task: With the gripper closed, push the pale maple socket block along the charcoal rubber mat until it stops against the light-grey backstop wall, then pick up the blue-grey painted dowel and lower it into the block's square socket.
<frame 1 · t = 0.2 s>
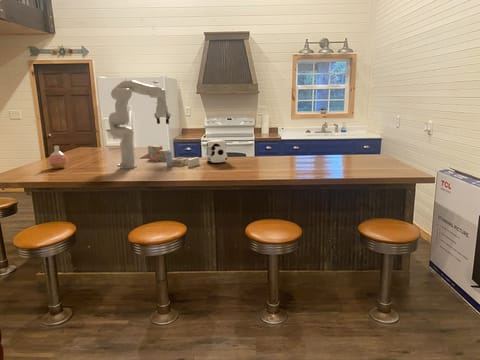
hand: (163, 123, 307), 31 cm above the countertop, fingers open, 9 cm apart
wall: (193, 166, 275), resting on mat
stack of blocks: (159, 160, 308), on the countertop
vase: (59, 168, 276), on the countertop
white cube: (216, 163, 290), on the countertop
mat: (183, 165, 280), on the countertop
block: (179, 161, 281), point 3 cm above the countertop, slide at 0.0 cm
dowel: (169, 167, 274), on the countertop
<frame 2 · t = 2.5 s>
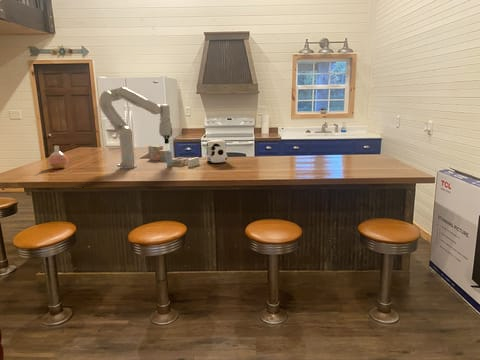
hand: (166, 143, 283), 17 cm above the countertop, fingers closed
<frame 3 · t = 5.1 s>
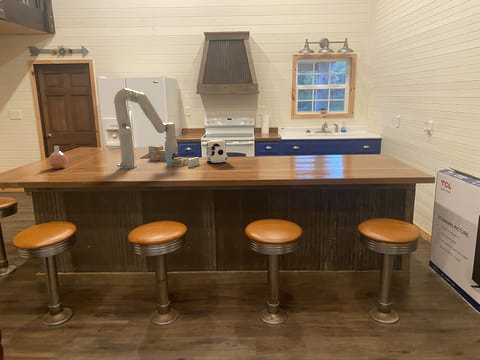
hand: (172, 161, 284), 3 cm above the countertop, fingers closed
block: (179, 161, 281), point 3 cm above the countertop, slide at 0.1 cm, touching gripper
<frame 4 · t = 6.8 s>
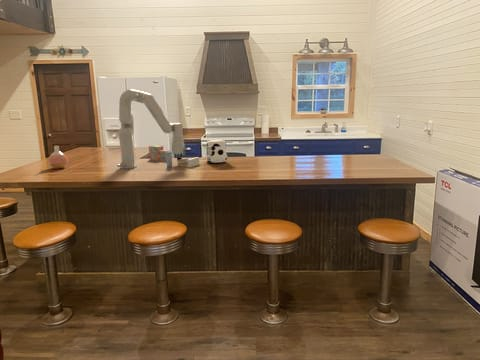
hand: (179, 162, 281), 3 cm above the countertop, fingers closed
block: (186, 162, 278), point 3 cm above the countertop, slide at 7.2 cm
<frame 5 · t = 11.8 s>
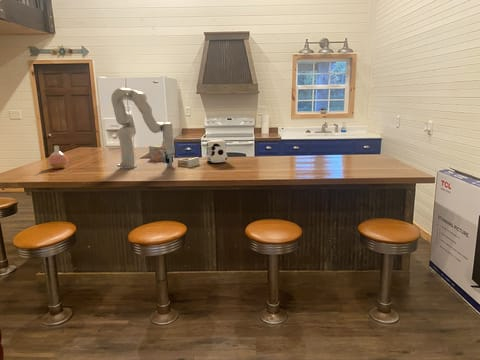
hand: (169, 162, 273), 4 cm above the countertop, fingers closed on dowel, 4 cm apart
dowel: (169, 167, 274), on the countertop, touching gripper
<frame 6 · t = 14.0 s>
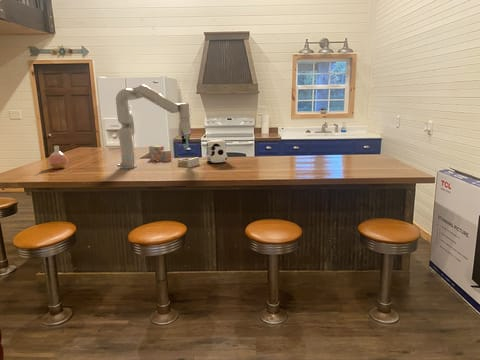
hand: (185, 143, 274), 18 cm above the countertop, fingers closed on dowel, 4 cm apart
dowel: (186, 147, 275), point 14 cm above the countertop, touching gripper
when the fingers open (6 cm above the countertop, at t = 16.4 s): dowel stays where it is, resting on block.
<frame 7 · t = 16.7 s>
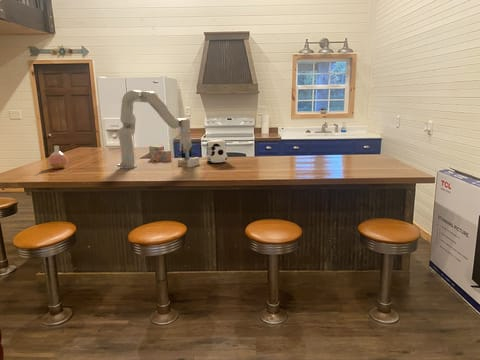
hand: (186, 157, 277), 7 cm above the countertop, fingers open, 7 cm apart
block: (186, 162, 278), point 3 cm above the countertop, slide at 7.2 cm, touching dowel
dowel: (186, 163, 278), point 2 cm above the countertop, touching block
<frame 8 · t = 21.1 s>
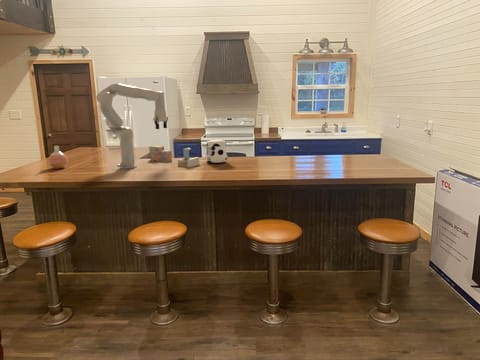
hand: (161, 128, 288), 28 cm above the countertop, fingers open, 9 cm apart
at the end: block slide at 7.2 cm; dowel 0.1 cm off-centre on the block, point 1.0 cm above the block's base; dowel tilted 0° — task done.
